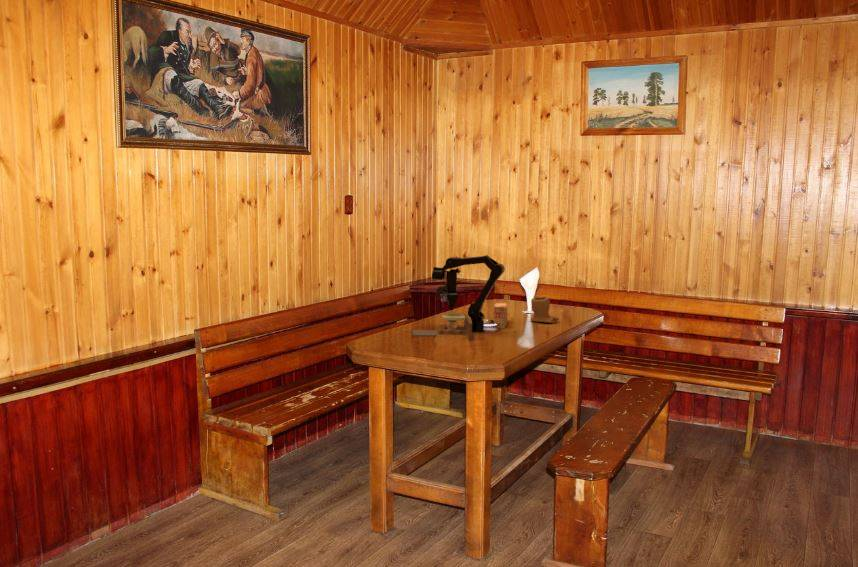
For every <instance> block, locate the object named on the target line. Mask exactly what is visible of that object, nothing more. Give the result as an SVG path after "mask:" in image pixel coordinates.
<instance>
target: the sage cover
mask: <svg viewBox="0 0 858 567" xmlns="http://www.w3.org/2000/svg"><path fill="white" fill-rule="evenodd" d="M441 318H442V321H447V320H456V321H466V318H465V316H464V314H462V313H461V312H445V314H441Z"/></svg>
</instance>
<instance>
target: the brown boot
mask: <svg viewBox="0 0 858 567" xmlns="http://www.w3.org/2000/svg"><path fill="white" fill-rule="evenodd" d="M550 301H551V300H550V298H549V297H548V296H545V295H544V296H534V297H533V298H531V301H530V304H531V308H532V311H533V317H531V318H530V321H532V322H536V323H543V322H544V324H545V323H546V324H555V323H557V322H558V321H559V320H560V318H559V317H556V316H551V315H550V314H549V311H550V306H551V302H550Z"/></svg>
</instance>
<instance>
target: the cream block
mask: <svg viewBox="0 0 858 567" xmlns="http://www.w3.org/2000/svg"><path fill="white" fill-rule="evenodd" d="M446 321H447V324H446V326H447V330H456V329H457V326H458V325H457V323H458V322H457V321H456V320H446Z"/></svg>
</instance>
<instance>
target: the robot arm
mask: <svg viewBox="0 0 858 567" xmlns="http://www.w3.org/2000/svg"><path fill="white" fill-rule="evenodd" d="M478 264H484V265H485V266H486V267H487V268H488V269H489V270H490V272H489V277H488V280H487V281H486V283H485V285H484V287H483V289H482V290H481V292H480V294H479V295H478V297H477V299H476V300H475V301H472V302H470V304H469V307H468V308H467V315H468V317H469V319H470V320H471V322H472V333H485V332H484V328H485V327H484V326H485V320H484V319H485V316H486V315H485V314H484V313H483V312H482V311H483V310H482V309H483V308H484V303H485V301H486V299H487V298H488V296H489V295H490V292H491V291H492V289H493V287H494V286H495V284H496V283H497V281H498V280H499V279H500V277H501V276H502V275H503V274H504V273H505V271H506V267H505V266H504V264H503V263H499V262H498V261H496V260H495V259H493V258H491V256H490V255H488V254H487V255H480V256H469V257H459V256H451V257H448V258H446V260H445V263H444V265H443V267H437V266H434V267H433V270H432V272H431V279H432V280H434V281H444V280H445V284H444V285H440V286H438V287H435V292H436V295H441V294H444V296H445V299H446V300H447V302H448V307H449V308H448V309H449V310H450V311H453V310H454V307H455V305H456V303H457V301H458V300H459V293H458V290H457V289H458V274H459V273H461V272H462V271H461V270H460V268H459V267H460V266H467V265H478Z"/></svg>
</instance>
